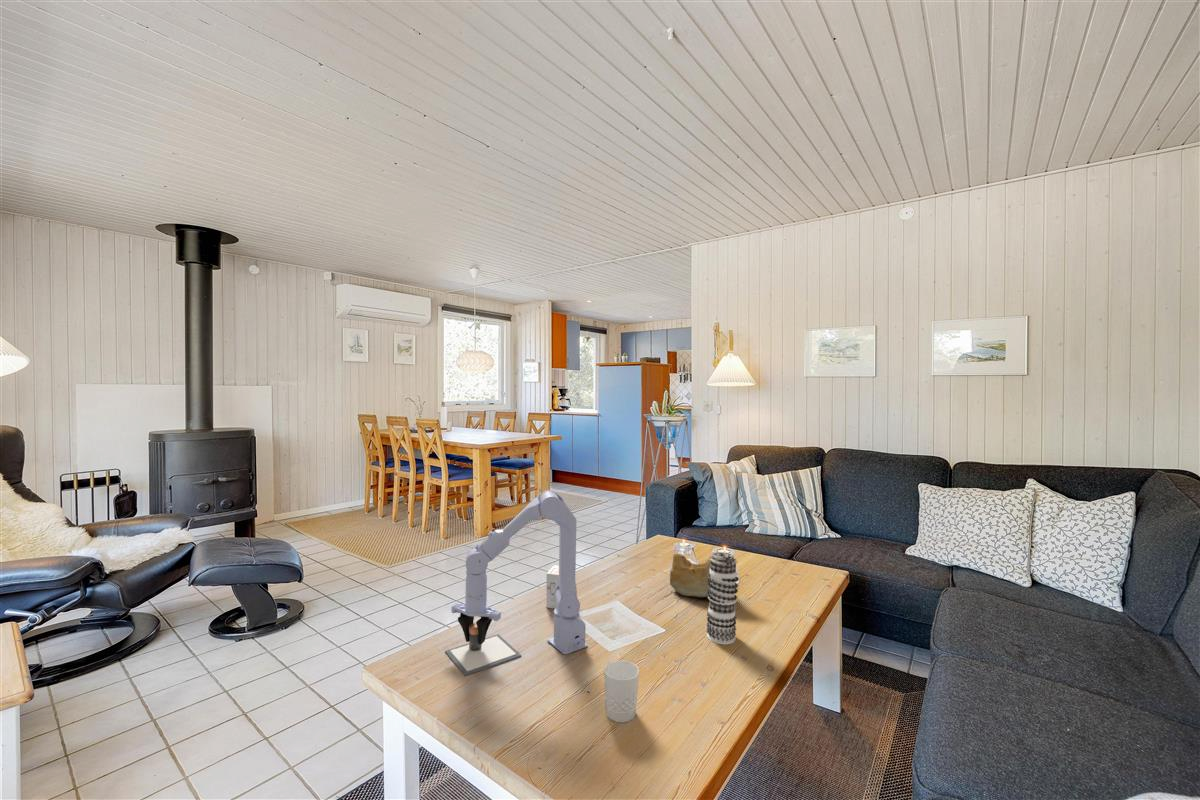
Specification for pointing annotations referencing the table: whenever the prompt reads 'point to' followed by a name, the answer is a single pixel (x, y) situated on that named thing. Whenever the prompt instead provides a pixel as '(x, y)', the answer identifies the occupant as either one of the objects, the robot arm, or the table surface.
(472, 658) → the writing pad
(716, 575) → the decorative candle
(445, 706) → the table surface
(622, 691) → the white cup
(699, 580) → the rough brown rock
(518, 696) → the table surface
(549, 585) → the ink cartridge box
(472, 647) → the orange-topped grey cylinder
